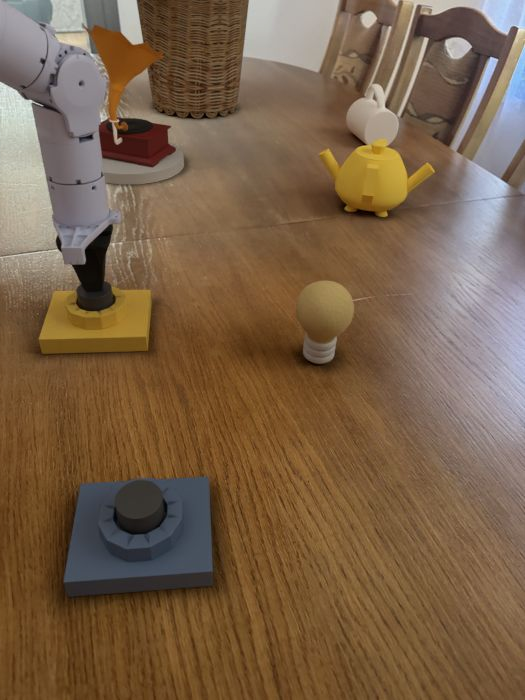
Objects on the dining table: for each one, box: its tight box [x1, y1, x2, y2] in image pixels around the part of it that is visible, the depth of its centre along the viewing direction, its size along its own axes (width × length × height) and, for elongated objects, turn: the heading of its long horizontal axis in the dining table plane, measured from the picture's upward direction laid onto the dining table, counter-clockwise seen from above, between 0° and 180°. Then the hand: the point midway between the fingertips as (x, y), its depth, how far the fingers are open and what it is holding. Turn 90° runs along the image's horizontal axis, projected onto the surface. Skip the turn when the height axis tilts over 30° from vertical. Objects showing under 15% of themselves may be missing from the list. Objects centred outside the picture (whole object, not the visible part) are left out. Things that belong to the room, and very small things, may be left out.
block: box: [62, 476, 214, 598], centre depth 45 cm, size 11×9×4 cm
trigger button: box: [75, 280, 114, 311], centre depth 66 cm, size 4×4×2 cm
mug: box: [345, 83, 400, 147], centre depth 124 cm, size 8×10×12 cm
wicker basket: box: [136, 0, 250, 120], centre depth 133 cm, size 35×35×33 cm
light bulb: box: [295, 280, 355, 365], centre depth 63 cm, size 6×6×10 cm
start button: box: [115, 480, 164, 534], centre depth 44 cm, size 4×4×2 cm
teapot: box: [318, 139, 436, 218], centre depth 97 cm, size 20×18×11 cm
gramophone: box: [82, 24, 185, 186], centre depth 103 cm, size 20×20×25 cm
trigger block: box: [37, 285, 153, 355], centre depth 68 cm, size 12×10×4 cm
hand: (94, 287), depth 65 cm, fingers closed
